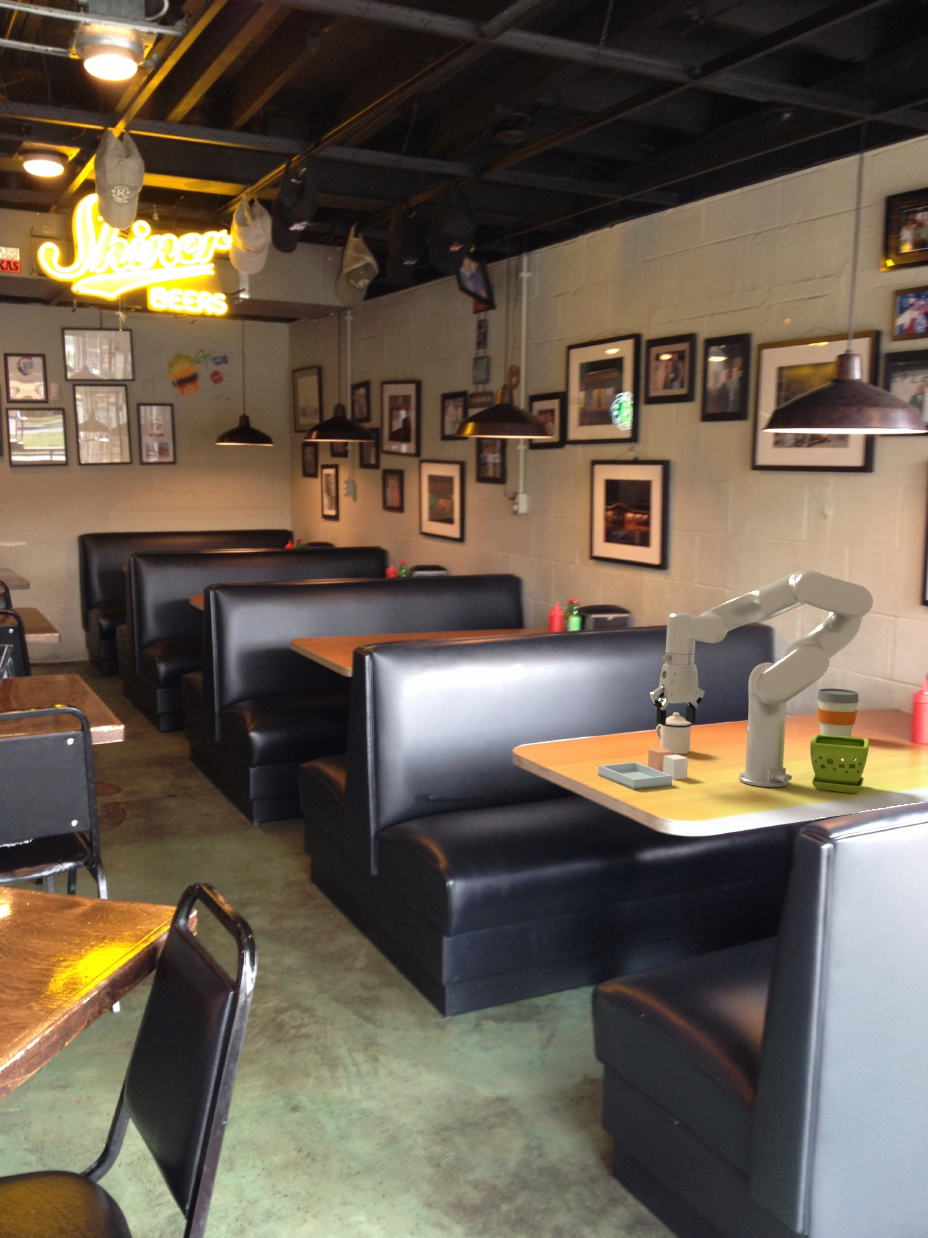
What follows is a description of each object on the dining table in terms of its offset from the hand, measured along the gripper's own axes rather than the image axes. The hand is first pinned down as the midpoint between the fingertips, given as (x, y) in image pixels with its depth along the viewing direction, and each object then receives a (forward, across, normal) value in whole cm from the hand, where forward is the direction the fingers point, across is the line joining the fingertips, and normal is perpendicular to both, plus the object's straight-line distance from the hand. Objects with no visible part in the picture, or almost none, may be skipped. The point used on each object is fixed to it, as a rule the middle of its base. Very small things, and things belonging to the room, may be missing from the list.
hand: (675, 723), depth 271 cm
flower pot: (+14, +34, -25) cm, 44 cm away
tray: (+15, -12, +1) cm, 19 cm away
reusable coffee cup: (+14, +82, +22) cm, 86 cm away
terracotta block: (+15, +2, +8) cm, 17 cm away
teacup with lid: (+15, +20, +26) cm, 35 cm away
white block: (+15, 0, 0) cm, 15 cm away
